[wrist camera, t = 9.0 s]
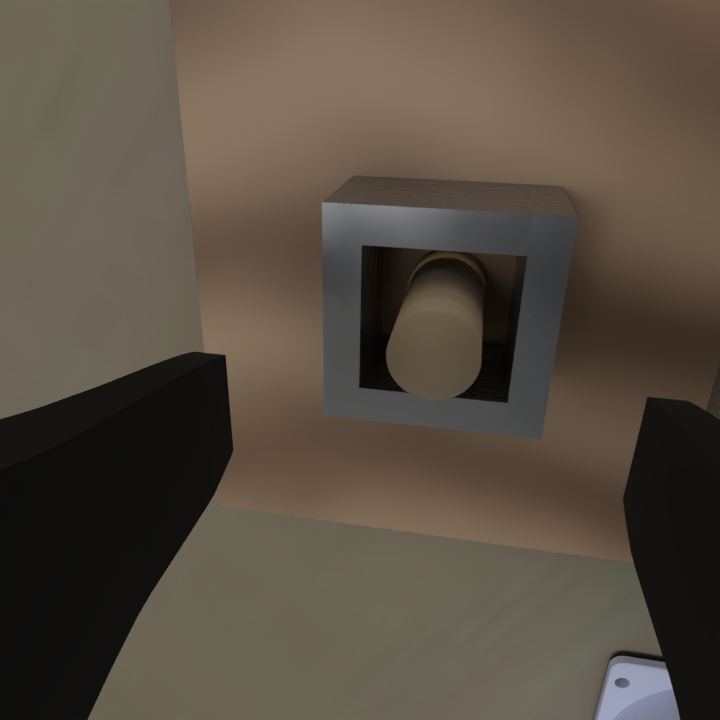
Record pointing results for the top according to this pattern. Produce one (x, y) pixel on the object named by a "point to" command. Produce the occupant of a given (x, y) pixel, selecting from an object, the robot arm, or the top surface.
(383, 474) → the board
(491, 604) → the top surface
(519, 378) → the collar
